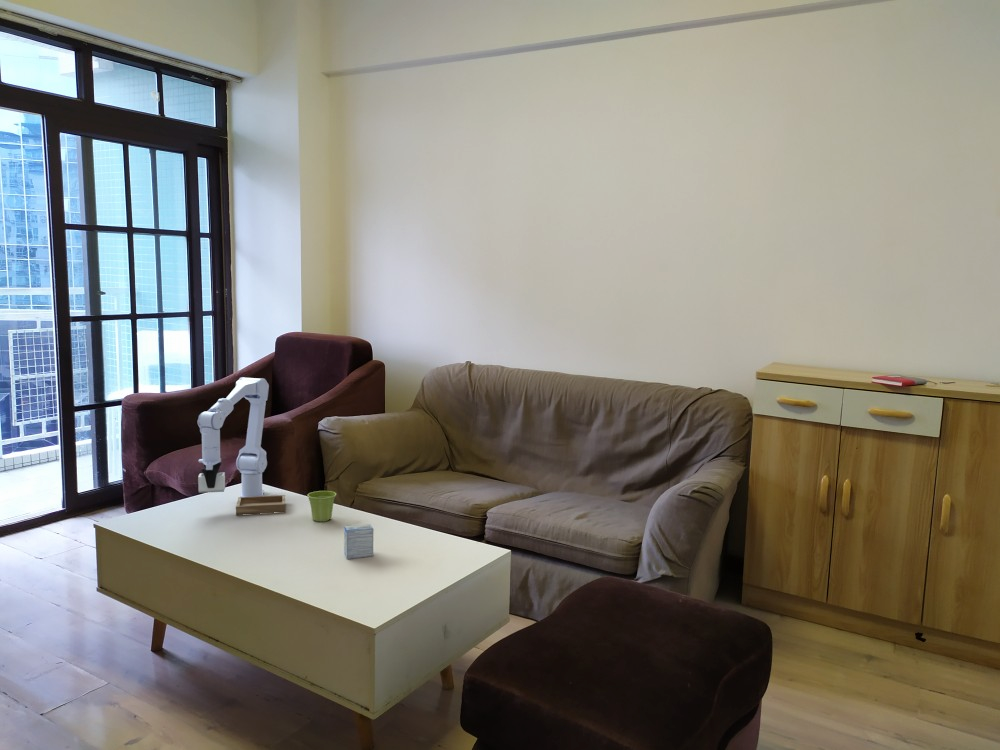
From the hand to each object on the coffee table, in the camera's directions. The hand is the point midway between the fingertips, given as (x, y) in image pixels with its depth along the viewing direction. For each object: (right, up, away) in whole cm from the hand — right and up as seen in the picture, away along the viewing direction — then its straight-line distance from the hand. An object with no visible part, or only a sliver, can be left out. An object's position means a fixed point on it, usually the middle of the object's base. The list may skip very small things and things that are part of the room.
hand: (211, 485), depth 252 cm
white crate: (0, -2, 0) cm, 2 cm away
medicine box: (+57, -15, -36) cm, 69 cm away
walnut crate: (+15, -9, +6) cm, 19 cm away
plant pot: (+38, -11, -3) cm, 40 cm away
